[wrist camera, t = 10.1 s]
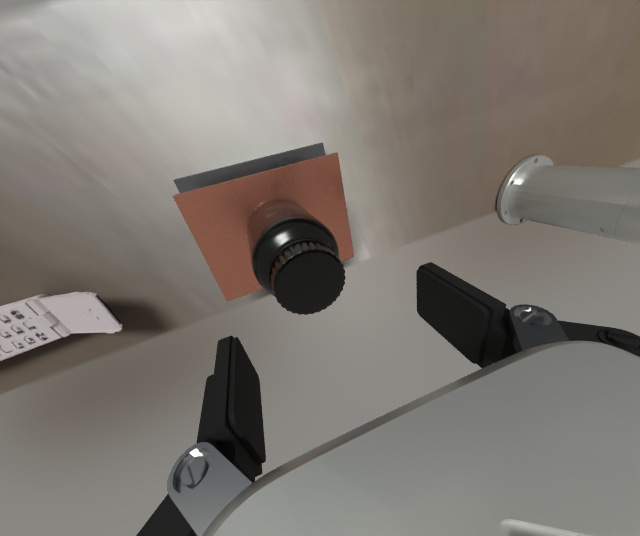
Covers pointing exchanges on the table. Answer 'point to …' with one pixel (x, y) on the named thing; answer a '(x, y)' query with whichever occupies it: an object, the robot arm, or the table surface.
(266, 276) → the supplement bottle
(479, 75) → the table surface
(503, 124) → the table surface
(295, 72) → the table surface
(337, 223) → the stand
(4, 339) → the mobile phone
